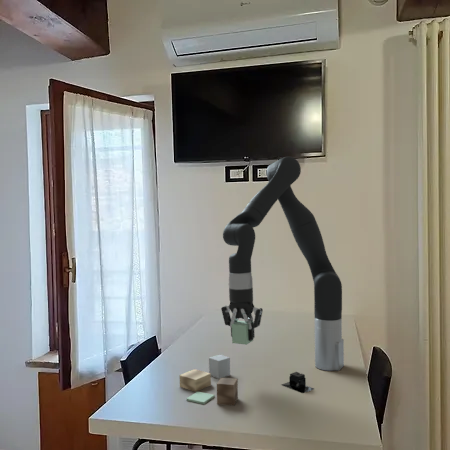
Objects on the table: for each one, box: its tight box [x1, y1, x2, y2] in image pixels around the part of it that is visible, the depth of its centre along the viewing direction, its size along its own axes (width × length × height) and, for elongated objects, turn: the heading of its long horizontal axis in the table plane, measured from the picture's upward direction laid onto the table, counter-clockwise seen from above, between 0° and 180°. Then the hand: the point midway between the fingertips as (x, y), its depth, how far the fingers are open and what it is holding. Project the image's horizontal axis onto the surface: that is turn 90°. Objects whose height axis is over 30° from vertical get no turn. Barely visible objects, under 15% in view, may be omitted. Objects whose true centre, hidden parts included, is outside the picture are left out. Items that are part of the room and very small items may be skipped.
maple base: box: [179, 368, 212, 393], centre depth 156 cm, size 7×7×4 cm
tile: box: [186, 391, 215, 405], centre depth 145 cm, size 6×6×1 cm
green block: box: [231, 320, 254, 346], centre depth 156 cm, size 5×5×6 cm
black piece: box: [281, 371, 315, 394], centre depth 153 cm, size 12×7×5 cm, turn 38°
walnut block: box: [216, 377, 239, 406], centre depth 143 cm, size 5×5×6 cm
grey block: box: [208, 354, 231, 380], centre depth 165 cm, size 5×5×6 cm
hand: (242, 339), depth 156 cm, fingers closed on green block, 5 cm apart
